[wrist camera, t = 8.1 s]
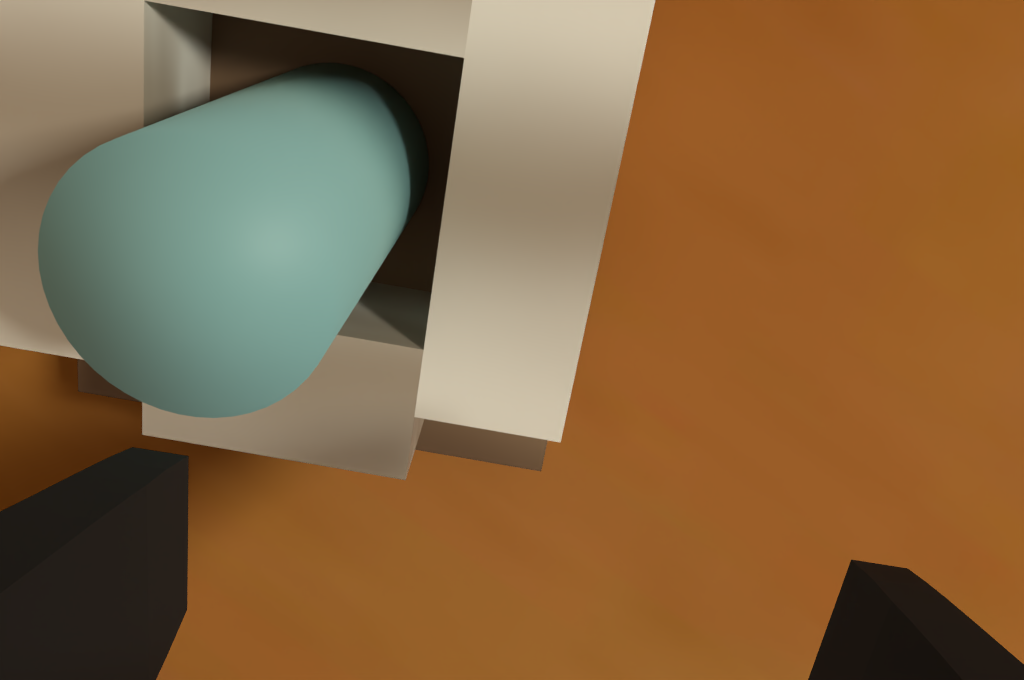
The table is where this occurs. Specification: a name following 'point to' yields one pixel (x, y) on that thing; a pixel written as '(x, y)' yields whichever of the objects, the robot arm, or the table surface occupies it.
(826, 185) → the table surface
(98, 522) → the robot arm
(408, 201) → the peg
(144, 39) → the socket board
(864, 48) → the table surface
